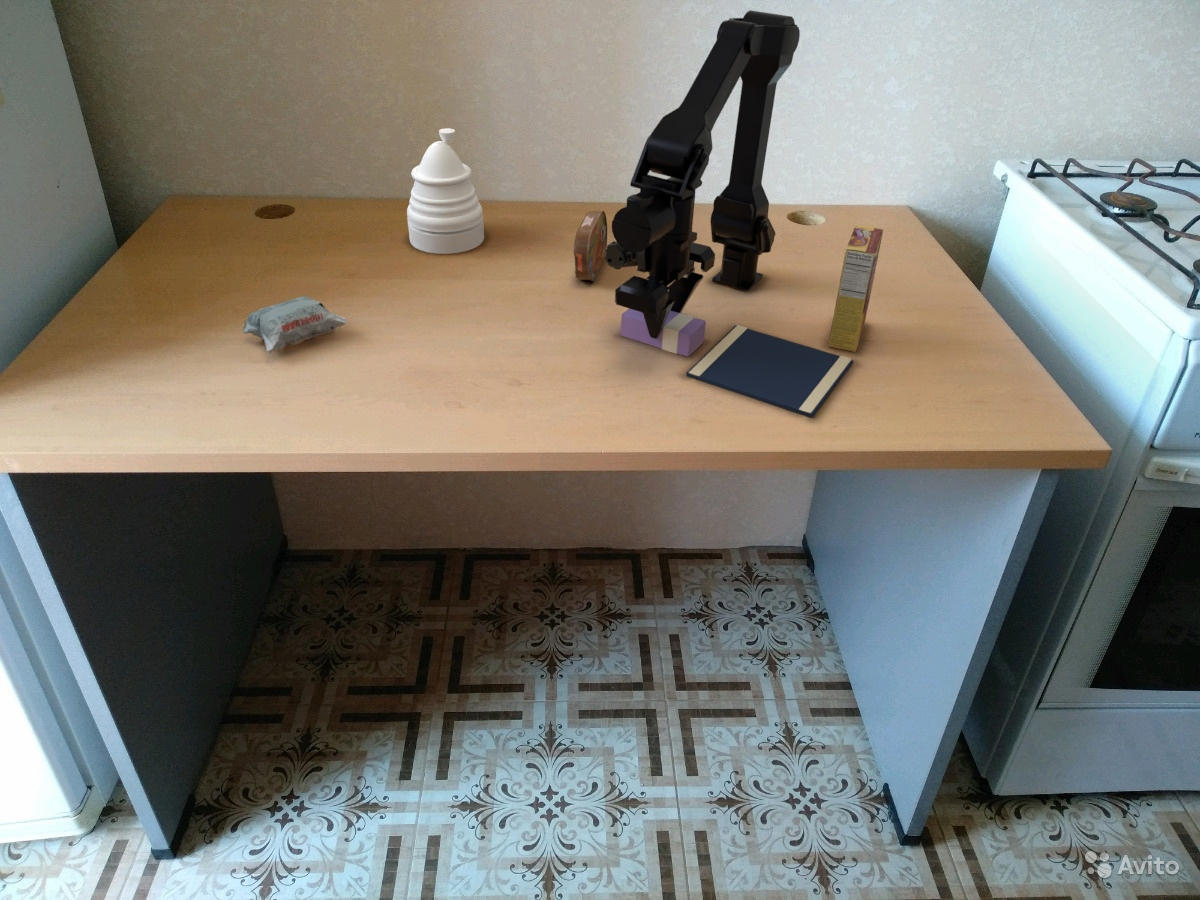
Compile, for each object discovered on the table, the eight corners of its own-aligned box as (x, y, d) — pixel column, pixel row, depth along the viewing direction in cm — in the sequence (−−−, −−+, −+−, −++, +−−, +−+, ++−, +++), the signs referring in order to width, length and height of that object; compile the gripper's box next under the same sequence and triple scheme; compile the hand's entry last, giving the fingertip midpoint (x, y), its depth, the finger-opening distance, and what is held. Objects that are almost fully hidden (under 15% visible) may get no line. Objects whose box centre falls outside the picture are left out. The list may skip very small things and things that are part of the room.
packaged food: (349, 336, 126) (343, 305, 123) (270, 364, 120) (262, 332, 117) (320, 315, 131) (314, 284, 128) (243, 340, 125) (235, 309, 122)
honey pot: (445, 218, 162) (437, 116, 151) (499, 236, 156) (494, 132, 145) (393, 240, 153) (381, 135, 142) (448, 260, 147) (439, 152, 136)
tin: (590, 289, 140) (591, 239, 135) (570, 287, 141) (570, 237, 136) (608, 251, 152) (610, 203, 147) (590, 249, 152) (591, 201, 147)
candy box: (835, 319, 134) (855, 223, 125) (864, 325, 133) (886, 228, 124) (825, 347, 127) (845, 247, 118) (855, 353, 126) (878, 253, 117)
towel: (735, 328, 131) (736, 324, 131) (852, 363, 124) (853, 359, 123) (686, 376, 120) (686, 371, 120) (812, 418, 113) (812, 413, 112)
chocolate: (637, 322, 132) (638, 300, 130) (704, 342, 128) (706, 320, 125) (620, 336, 129) (621, 314, 126) (687, 357, 124) (690, 335, 122)
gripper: (651, 192, 127) (645, 290, 137) (582, 235, 115) (580, 341, 124) (721, 209, 123) (710, 310, 132) (657, 256, 110) (650, 364, 119)
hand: (662, 329), depth 127 cm, fingers closed on chocolate, 5 cm apart
